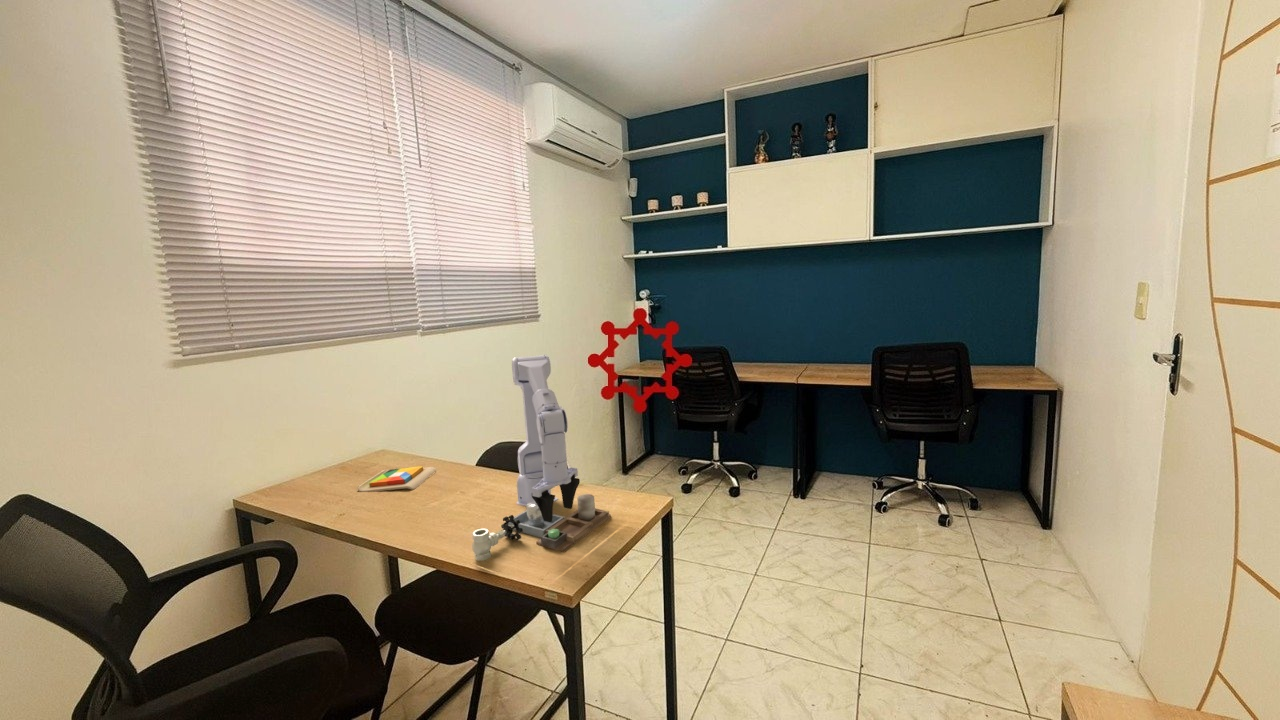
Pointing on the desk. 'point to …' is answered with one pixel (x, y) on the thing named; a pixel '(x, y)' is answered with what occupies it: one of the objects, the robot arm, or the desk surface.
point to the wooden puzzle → (397, 479)
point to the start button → (553, 533)
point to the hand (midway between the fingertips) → (558, 514)
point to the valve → (494, 538)
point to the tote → (534, 530)
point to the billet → (534, 515)
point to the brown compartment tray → (575, 524)
